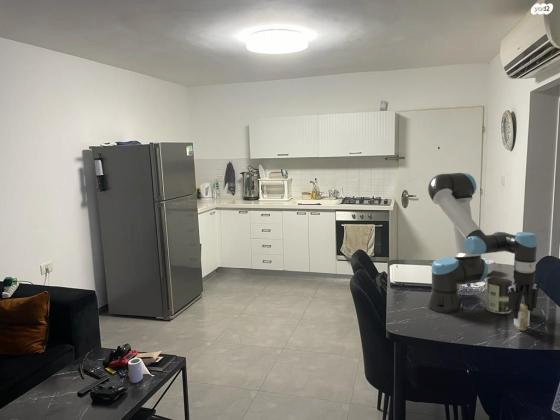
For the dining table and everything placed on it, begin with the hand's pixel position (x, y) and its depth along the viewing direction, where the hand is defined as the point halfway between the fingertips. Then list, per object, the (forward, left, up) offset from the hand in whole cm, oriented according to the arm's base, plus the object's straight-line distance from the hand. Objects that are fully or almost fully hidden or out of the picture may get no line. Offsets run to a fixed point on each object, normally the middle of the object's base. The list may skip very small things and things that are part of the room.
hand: (521, 325), depth 170 cm
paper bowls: (+37, +76, -2) cm, 85 cm away
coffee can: (+6, +21, -2) cm, 22 cm away
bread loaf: (0, 0, -2) cm, 2 cm away
